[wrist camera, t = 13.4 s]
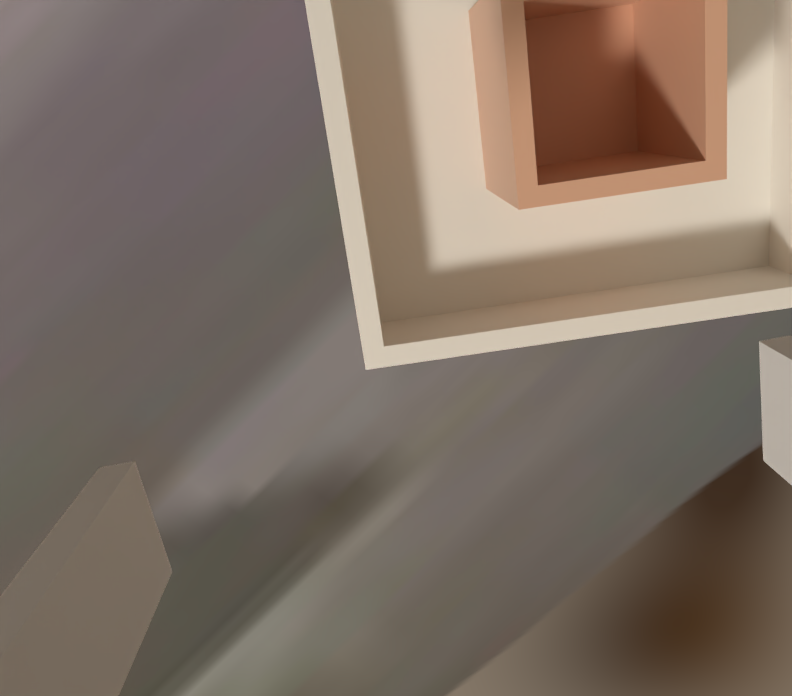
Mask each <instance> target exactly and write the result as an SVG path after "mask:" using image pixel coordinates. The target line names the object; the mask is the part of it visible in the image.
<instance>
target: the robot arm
mask: <svg viewBox="0 0 792 696" xmlns="http://www.w3.org/2000/svg"><path fill="white" fill-rule="evenodd" d="M759 353H760V381H761V409H762V438H763V461H764V462H766V463H767V464H768V465H769V466H770V467H771V468H772V469H774V470H775V471H776V472H777V473H778V474H779V475H780V476H782V477H783V478H784V479H785V480H787V482H789V483H790V484H791V485H792V335H789V336H784V337H779V338H773V339H768V340H763V341H759ZM171 573H172V569H171V566H170V563H169V560H168V558H167V555H166V552H165V549H164V546H163V543H162V540H161V537H160V534H159V531H158V528H157V525H156V522H155V519H154V516H153V513H152V510H151V507H150V505H149V502H148V499H147V496H146V493H145V490H144V487H143V484H142V481H141V478H140V475H139V472H138V469H137V466H136V463H135V461H132V462H127V463H122V464H116V465H111V466H106V467H101V468H99V469H98V470H97V471H96V472H95V474H94V475H93V476H92V478H91V479H90V480H89V482H88V483H87V484H86V485H85V487H84V488H83V489H82V491H81V492H80V493H79V495H78V496H77V497H76V498H75V500H74V501H73V502H72V504H71V505H70V506H69V508H68V509H67V510H66V511H65V513H64V514H63V515H62V517H61V518H60V519H59V521H58V522H57V523H56V524H55V526H54V527H53V528H52V530H51V531H50V532H49V534H48V535H47V536H46V537H45V539H44V540H43V541H42V543H41V544H40V545H39V547H38V548H37V549H36V550H35V552H34V553H33V554H32V556H31V557H30V558H29V560H28V561H27V562H26V563H25V565H24V566H23V567H22V569H21V570H20V571H19V573H18V574H17V575H16V576H15V578H14V579H13V580H12V582H11V583H10V584H9V586H8V587H7V588H6V589H5V591H4V592H3V593H2V595H1V596H0V696H118V695H119V693H120V691H121V689H122V686H123V684H124V682H125V679H126V677H127V675H128V672H129V670H130V668H131V665H132V663H133V661H134V659H135V656H136V654H137V652H138V649H139V647H140V645H141V642H142V640H143V638H144V635H145V633H146V631H147V629H148V626H149V624H150V622H151V619H152V617H153V615H154V612H155V610H156V608H157V605H158V603H159V601H160V599H161V596H162V594H163V592H164V589H165V587H166V585H167V582H168V580H169V578H170V575H171Z"/></svg>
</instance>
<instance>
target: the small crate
mask: <svg viewBox="0 0 792 696" xmlns="http://www.w3.org/2000/svg"><path fill="white" fill-rule="evenodd" d="M468 12H469V22H470V32H471V42H472V52H473V62H474V72H475V82H476V92H477V102H478V112H479V122H480V132H481V142H482V152H483V161H484V171H485V181H486V189H487V190H489V191H490V192H492V193H493V194H495V195H496V196H498V197H500V198H501V199H503V200H504V201H506V202H507V203H509V204H511V205H512V206H514V207H515V208H517V209H518V210H521V209H528V208H534V207H541V206H548V205H555V204H561V203H568V202H575V201H582V200H588V199H595V198H602V197H609V196H615V195H622V194H629V193H636V192H642V191H649V190H656V189H663V188H669V187H676V186H683V185H690V184H696V183H703V182H710V181H717V180H723V179H727V0H478V1H477V2H476V4H475V5H474V6H473V7H472V8H471V9H470V10H469V11H468Z"/></svg>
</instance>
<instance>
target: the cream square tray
mask: <svg viewBox="0 0 792 696" xmlns="http://www.w3.org/2000/svg"><path fill="white" fill-rule="evenodd" d="M477 1H478V0H305V5H306V11H307V17H308V23H309V29H310V35H311V41H312V47H313V53H314V59H315V65H316V71H317V77H318V84H319V90H320V96H321V102H322V108H323V114H324V120H325V126H326V132H327V138H328V144H329V150H330V156H331V162H332V168H333V174H334V180H335V186H336V192H337V198H338V204H339V210H340V216H341V223H342V229H343V235H344V241H345V247H346V253H347V259H348V265H349V271H350V277H351V283H352V289H353V295H354V301H355V307H356V313H357V319H358V325H359V331H360V337H361V343H362V349H363V355H364V362H365V368H366V370H368V369H375V368H382V367H389V366H396V365H403V364H409V363H416V362H423V361H430V360H437V359H444V358H450V357H457V356H464V355H471V354H478V353H485V352H491V351H498V350H505V349H512V348H519V347H526V346H533V345H539V344H546V343H553V342H560V341H567V340H574V339H580V338H587V337H594V336H601V335H608V334H615V333H621V332H628V331H635V330H642V329H649V328H656V327H662V326H669V325H676V324H683V323H690V322H697V321H703V320H710V319H717V318H724V317H731V316H738V315H744V314H751V313H758V312H765V311H772V310H779V309H785V308H792V0H727V179H723V180H717V181H710V182H703V183H696V184H690V185H683V186H676V187H669V188H663V189H656V190H649V191H642V192H636V193H629V194H622V195H615V196H609V197H602V198H595V199H588V200H582V201H575V202H568V203H561V204H555V205H548V206H541V207H534V208H528V209H521V210H518V209H517V208H515V207H514V206H512V205H511V204H509V203H507V202H506V201H504V200H503V199H501V198H500V197H498V196H496V195H495V194H493V193H492V192H490V191H489V190H487V189H486V181H485V171H484V161H483V152H482V142H481V132H480V122H479V112H478V102H477V92H476V82H475V72H474V62H473V52H472V42H471V32H470V22H469V12H468V11H469V10H470V9H471V8H472V7H473V6H474V5H475V4H476V2H477Z"/></svg>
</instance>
